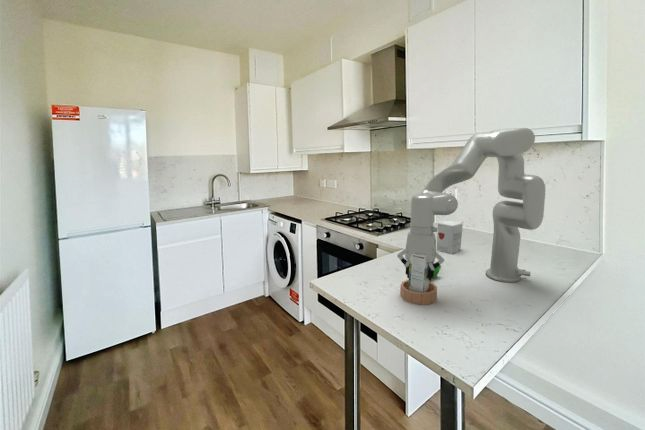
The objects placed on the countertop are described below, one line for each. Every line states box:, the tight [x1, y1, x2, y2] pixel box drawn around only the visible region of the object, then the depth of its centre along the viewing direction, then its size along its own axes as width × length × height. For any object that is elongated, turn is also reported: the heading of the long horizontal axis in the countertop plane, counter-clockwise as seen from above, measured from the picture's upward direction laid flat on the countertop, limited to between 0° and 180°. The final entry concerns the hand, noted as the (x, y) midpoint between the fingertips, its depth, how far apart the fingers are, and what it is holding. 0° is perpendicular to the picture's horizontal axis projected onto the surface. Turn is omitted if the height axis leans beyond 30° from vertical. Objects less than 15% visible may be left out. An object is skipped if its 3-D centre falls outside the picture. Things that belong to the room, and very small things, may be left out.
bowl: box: [399, 279, 438, 306], centre depth 115 cm, size 12×12×4 cm
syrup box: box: [407, 253, 430, 293], centre depth 113 cm, size 6×6×14 cm
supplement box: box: [436, 219, 463, 255], centre depth 165 cm, size 9×9×15 cm
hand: (419, 277), depth 114 cm, fingers closed on syrup box, 6 cm apart
